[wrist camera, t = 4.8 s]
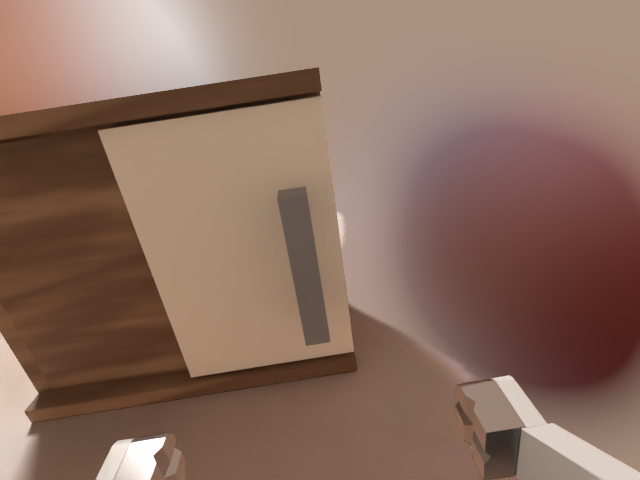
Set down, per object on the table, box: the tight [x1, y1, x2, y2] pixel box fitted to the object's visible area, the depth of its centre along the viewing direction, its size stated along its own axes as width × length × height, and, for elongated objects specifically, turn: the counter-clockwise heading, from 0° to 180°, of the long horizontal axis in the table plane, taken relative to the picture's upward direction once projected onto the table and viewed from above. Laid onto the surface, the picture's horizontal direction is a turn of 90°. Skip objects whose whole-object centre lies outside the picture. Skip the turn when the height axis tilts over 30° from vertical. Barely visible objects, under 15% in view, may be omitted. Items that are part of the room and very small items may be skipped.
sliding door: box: [97, 95, 354, 378], centre depth 24 cm, size 5×13×19 cm, turn 94°
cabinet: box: [0, 68, 357, 422], centre depth 32 cm, size 16×26×22 cm, turn 94°
